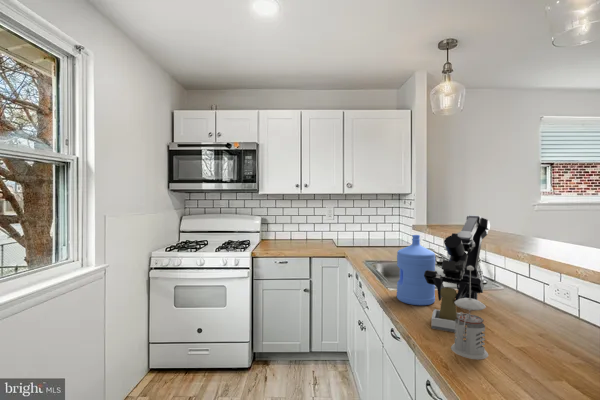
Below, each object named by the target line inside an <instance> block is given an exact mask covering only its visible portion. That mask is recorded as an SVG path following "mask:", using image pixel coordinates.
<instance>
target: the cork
mask: <svg viewBox="0 0 600 400" xmlns="http://www.w3.org/2000/svg"><path fill="white" fill-rule="evenodd" d="M440 292H441V296H442V298H441V301H440V302H441V303H440V307H439V308H440V309H439V310H440V315H439V318H440V319H446V320H452V321H455V320H456V319H457V317H456V316H457V313H458V311H457V306H456V304H455V303H454V302H455V299H456V295H457V293H458V291H457V290H456V289H455V288H453V287H445V286H444V288H442V289H441V291H440Z"/></svg>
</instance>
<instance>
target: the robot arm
mask: <svg viewBox="0 0 600 400" xmlns="http://www.w3.org/2000/svg"><path fill="white" fill-rule="evenodd" d="M490 229H491V222H490V220H489V219H487V218H484V217H482V216H481V215H474V214H473V215H472V214H471V215H470V214H469V215H467V216H466V221H465V223H464V225H463V226H462V228H461V230H460V231H459V232H457V233H456V232H454V233H453V232H452V234H451V235H448V236H447V237H445V239H444V241H443V244H444V246H445V248H446V252H447V254H448V256H449V259H448V260H447V259H446V260H445V259H443V260H442V264H441V270H443V271H442V273H443V275H441V274H439V273H438V272H437V271H436V270H435V271H431V270H426V271H425V273H424V277H425V279H426V281H427V283H428V284H432V285H435V288H436V289H437V297H438V301H439V302H441V301H442V296H441V292H440V291H441V289H442V288H445V286H444V283H449V284H454V285H456V289H457V290H456V291H457V295H456V298H455V301H456V300H458V299H462V298H472V299H475V300H478V297H479V296H478V295H480V294H483V293H484V284H483V280H482V278H481V276H480V274H479V272H478V264H479V259H480V253H481V249H482V243H483V239H485V237H487V236H488V234H489V231H490ZM468 266H472V267H474V270H471V296H470V270H467V267H468Z"/></svg>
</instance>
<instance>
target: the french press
mask: <svg viewBox="0 0 600 400" xmlns="http://www.w3.org/2000/svg"><path fill="white" fill-rule="evenodd" d="M467 270H470V296H471V270H474V267H472V266H468V267H467ZM454 303H455V304H456V307H458V308H461V309H464V310H468V313H464V312H463V311H460V312H459V313H460V314H458V315H457V316H456V317H457V319H456V320H455V328H456V329H455V332H456V333H455V332H454V343H453V344H452V345H451V347H450V349H451V351H452V352H454V353H455V355H458V356H461V357H463V358H466V359H467V358H468V359H470V360H484V359H487V358H488V357H489V353H488V352H487V350H486V349H485V344H486V343H485V342H484V341H485V340H486V339H485V336H486V335H485V333H486V325H485V323H484V321H485V320H484V319H483V318H482V317H481V316H479V315H475V314H471V311H482V310H485V309H486V305H485V304H484V303H483V302H481V301H480V300H479V299H477V300H475V299H472V298H462V299H458V300H456V301H455V302H454ZM462 313H463V314H462ZM461 325H463V326H464V328H463V326H461ZM463 330H464V332H463Z"/></svg>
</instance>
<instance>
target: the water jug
mask: <svg viewBox="0 0 600 400" xmlns="http://www.w3.org/2000/svg"><path fill="white" fill-rule="evenodd" d="M420 237H421V235H419V234H412V238H411V245H407V246H405V247H403V248H401V249H399V250H398V251H397V252H396V253H397V254H396V261H397V264H396V266H397V267H398V268H399V279H398V281H397V282H396V298H397V300H399V302H402V303H404V304H408V305H413V306H430V305H432V304H434V303H435V301H436V294H435V293H436V286H435V285H432V284H428V283H427V281H426V279H425V277H424V273H425V271H426V270H431V271H436V253H435V252H434V251H432V250H431V249H428V248H427V247H426V246H425V247H424V246H422V245H421V243H420V242H421V239H420Z"/></svg>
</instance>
